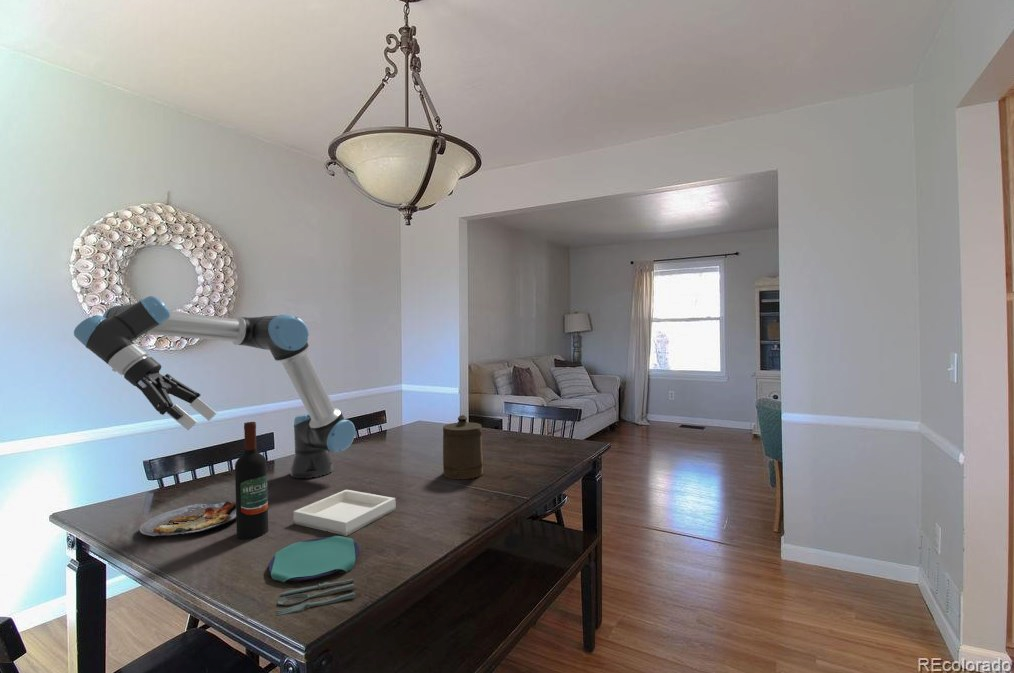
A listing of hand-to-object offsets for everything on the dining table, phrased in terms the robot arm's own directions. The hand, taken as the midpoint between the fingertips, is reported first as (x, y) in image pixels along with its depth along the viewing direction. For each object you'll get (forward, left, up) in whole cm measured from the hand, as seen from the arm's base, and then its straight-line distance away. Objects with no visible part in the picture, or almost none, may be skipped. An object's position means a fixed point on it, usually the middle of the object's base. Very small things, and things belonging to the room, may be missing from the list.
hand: (203, 421), depth 124 cm
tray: (+23, +26, -31) cm, 47 cm away
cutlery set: (+41, -1, -32) cm, 52 cm away
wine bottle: (+8, +7, -31) cm, 33 cm away
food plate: (-14, +5, -32) cm, 35 cm away
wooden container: (+33, +75, -31) cm, 88 cm away
